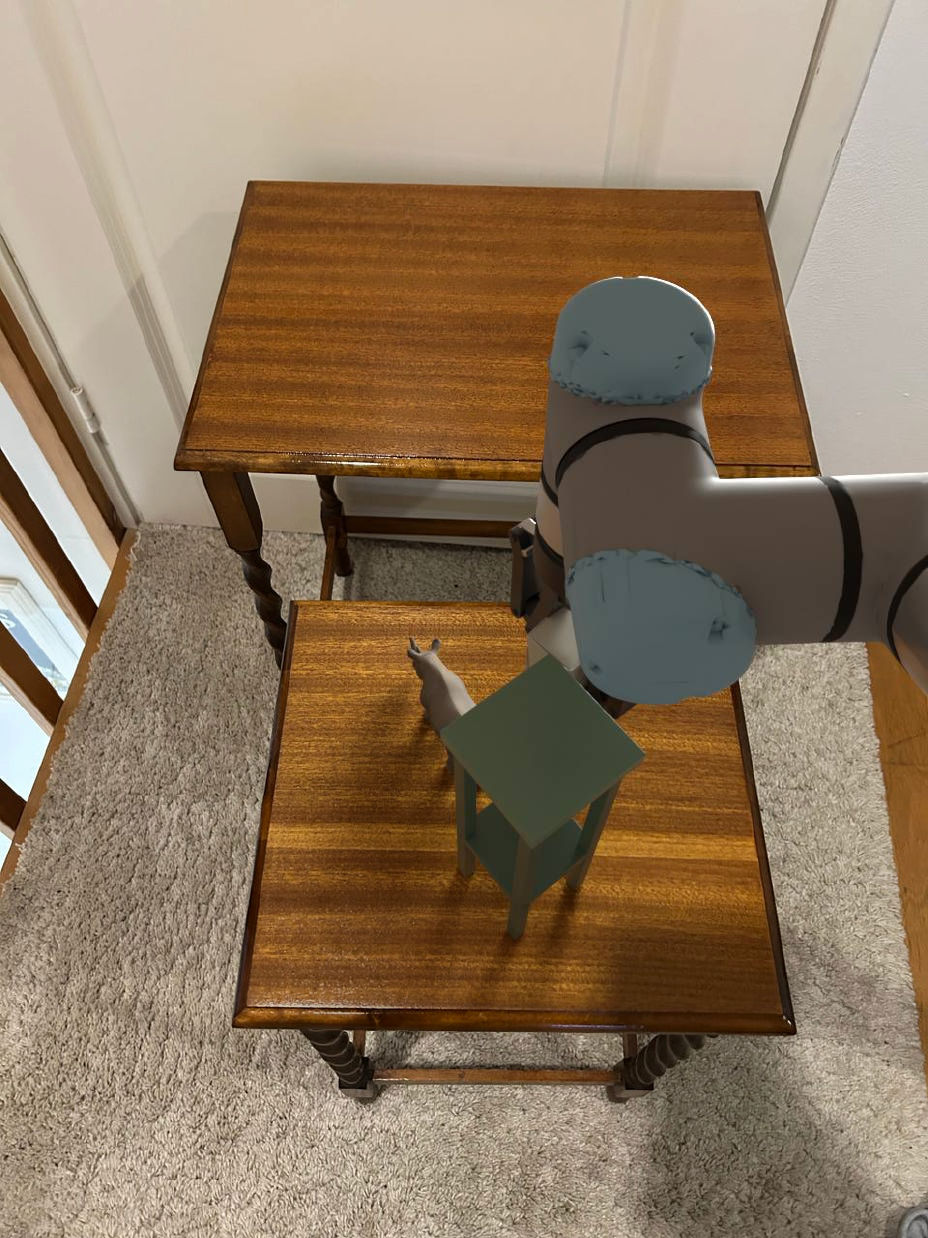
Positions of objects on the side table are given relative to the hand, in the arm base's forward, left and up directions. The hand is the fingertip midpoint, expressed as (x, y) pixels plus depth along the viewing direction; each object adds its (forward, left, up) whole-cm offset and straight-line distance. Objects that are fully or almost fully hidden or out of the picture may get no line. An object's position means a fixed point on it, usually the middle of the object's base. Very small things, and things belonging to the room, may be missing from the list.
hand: (565, 700), depth 75 cm
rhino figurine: (+7, +7, -5) cm, 11 cm away
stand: (-8, +11, -5) cm, 14 cm away
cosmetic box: (0, 0, -1) cm, 1 cm away
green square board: (-8, +11, +19) cm, 24 cm away
